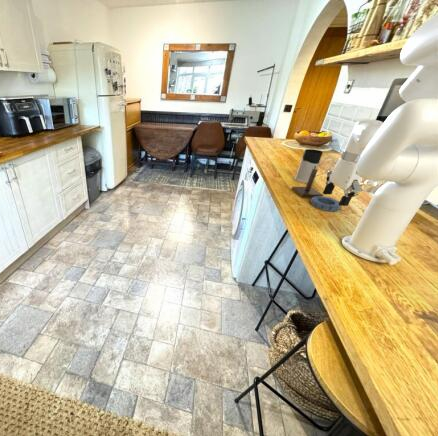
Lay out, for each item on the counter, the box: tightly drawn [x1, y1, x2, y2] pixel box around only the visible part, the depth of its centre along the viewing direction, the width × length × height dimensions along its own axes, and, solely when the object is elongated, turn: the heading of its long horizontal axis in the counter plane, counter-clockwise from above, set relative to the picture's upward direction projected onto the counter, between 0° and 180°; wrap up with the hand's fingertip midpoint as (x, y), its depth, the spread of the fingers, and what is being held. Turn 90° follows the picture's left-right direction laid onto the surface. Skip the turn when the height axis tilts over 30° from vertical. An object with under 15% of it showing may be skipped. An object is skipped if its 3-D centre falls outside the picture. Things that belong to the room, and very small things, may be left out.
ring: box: [310, 195, 342, 212], centre depth 99 cm, size 10×10×2 cm
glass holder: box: [293, 148, 335, 184], centre depth 119 cm, size 9×14×15 cm, turn 38°
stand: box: [291, 168, 324, 199], centre depth 107 cm, size 9×9×12 cm
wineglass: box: [360, 179, 383, 193], centre depth 112 cm, size 7×7×12 cm
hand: (334, 199), depth 94 cm, fingers open, 9 cm apart
